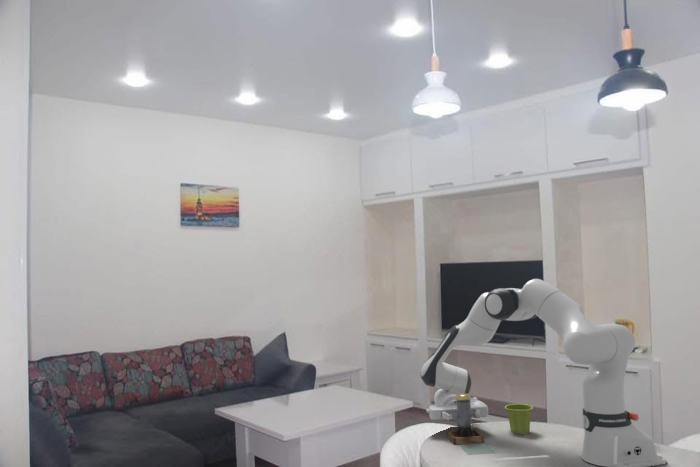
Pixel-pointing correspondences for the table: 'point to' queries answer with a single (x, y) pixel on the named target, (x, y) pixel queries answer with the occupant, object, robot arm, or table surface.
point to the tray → (475, 437)
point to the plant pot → (519, 417)
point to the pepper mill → (464, 415)
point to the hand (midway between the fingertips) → (464, 416)
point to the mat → (478, 449)
